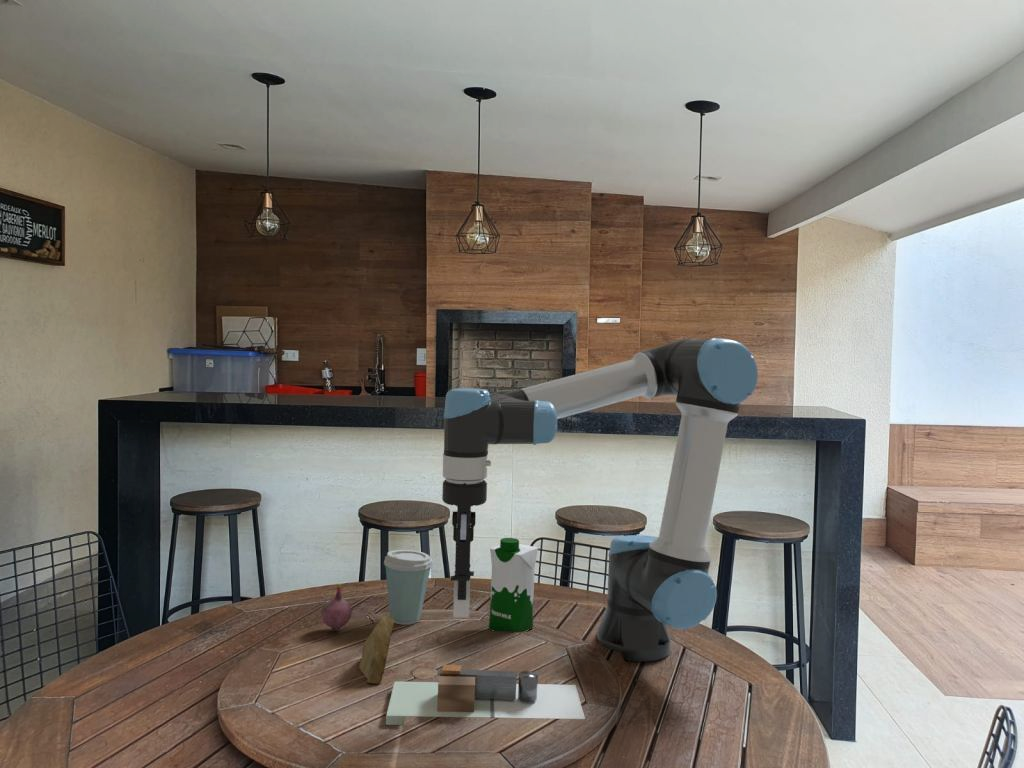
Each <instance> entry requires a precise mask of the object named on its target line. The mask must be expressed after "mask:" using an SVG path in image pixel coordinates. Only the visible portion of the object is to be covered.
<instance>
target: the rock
mask: <svg viewBox="0 0 1024 768" xmlns="http://www.w3.org/2000/svg"><path fill="white" fill-rule="evenodd" d="M393 627H394V620H393V619H392V618H391V617H390V615H388V614H384V615H383V616H382V617H381V618H379V621H378V622H377V624H375V626H374V629H372V631H371V633H370V634H369V636H368V637H367V638H366V640H365V642H364V644H363V646H362V648H361V649H362V650H361V651H362V652H361V653H362V654H361V658H360V663H359V665H358V667H359V670H360V671H361V673H363V676H364V677H365V678H366V682H367V683H368V684H381V683H382V681H383V675H384V673H385V669H386V664H387V663H386V661H387V658H388V653H389V650H390V649H389V648H390V644H391V643H390V642H391V637H392V631H393Z"/></svg>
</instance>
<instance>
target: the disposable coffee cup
mask: <svg viewBox="0 0 1024 768" xmlns="http://www.w3.org/2000/svg"><path fill="white" fill-rule="evenodd" d="M386 553H387V554H386V556H384V561H383V566H385V574H386V576H385V577H386V587H387V597H388V598H387V599H388V609H389V610H388V611H389V616H390V617H391V618H392V619H393V620H394V622H393V624H397V625H398V624H399V625H402V626H403V625H414V624H417V622H419V621H420V618H421V616H422V612H423V606H424V601H425V596H426V591H427V588H428V582H429V577H430V573H431V568H432V566H433V561H432V557H431V556H430V555H429V554H427V553H425V552H422V551H418V550H412V549H397V550H395V549H394V550H391V551H388V552H386Z"/></svg>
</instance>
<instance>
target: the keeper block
mask: <svg viewBox="0 0 1024 768" xmlns="http://www.w3.org/2000/svg"><path fill="white" fill-rule="evenodd" d="M474 702H475V677H454V676H439V675H438V702H437V712H474Z"/></svg>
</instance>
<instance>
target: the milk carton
mask: <svg viewBox="0 0 1024 768" xmlns="http://www.w3.org/2000/svg"><path fill="white" fill-rule="evenodd" d="M489 551H490V559H491V578H490V579H491V581H490V602H489V619H488V620H489V621H488V622H489V623H488V630H489V629H490V630H494V631H493V632H510V633H511V632H512V633H513V632H515V633H516V632H517V633H525V632H524V631H526V630H528V629H530V628H532V627H533V628H534V611H533V610H534V589H535V586H534V585H535V569H536V562H537V556H538V551H539V547H537V546H532V545H528V544H522V543H520V540H519V539H518V538H513V537H504V538H501V539H500V543H499V544H498V545H496V546H493V547H491V548H490V549H489ZM533 628H532V629H533ZM490 630H489V631H490Z"/></svg>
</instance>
